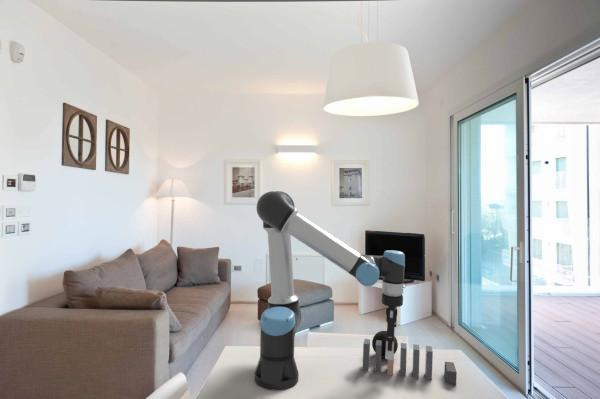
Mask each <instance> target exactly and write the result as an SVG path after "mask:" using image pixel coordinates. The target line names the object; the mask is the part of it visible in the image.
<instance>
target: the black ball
mask: <svg viewBox="0 0 600 399" xmlns="http://www.w3.org/2000/svg"><path fill="white" fill-rule="evenodd" d="M384 338H387V330H380V331H378V332H376V333H375V334H374V336H373V337H372V340H371V346H372V350H373V351H374V353H375V352H376V340H380V341H382V358H385V353H386V341H384ZM398 346H399V344H398V340H397V337H396V336H395V335H394V355H395V354H396V353H397V350H398V349H399V348H398Z"/></svg>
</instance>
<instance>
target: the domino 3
mask: <svg viewBox="0 0 600 399" xmlns="http://www.w3.org/2000/svg"><path fill="white" fill-rule="evenodd" d="M394 357H395V354H393V360H390V359H387V373H386V374H387V375H394V365H395V364H394V361H395V360H394V359H395V358H394Z"/></svg>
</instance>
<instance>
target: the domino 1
mask: <svg viewBox="0 0 600 399" xmlns="http://www.w3.org/2000/svg"><path fill="white" fill-rule="evenodd" d="M370 347H371V339H370V338H364V341H363V348H362V349H363V351H362V372H369V370H370V369H369V368H370V358H371V357H370V356H371V355H370V354H371V353H370V352H371V348H370Z"/></svg>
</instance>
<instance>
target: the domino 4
mask: <svg viewBox="0 0 600 399" xmlns="http://www.w3.org/2000/svg"><path fill="white" fill-rule="evenodd" d="M407 346H408V344H407V343H405V342H400V353H399V354H400V356H399V357H400V359H399V362H400V363H399V367H400V368H399V376H400V377H407V376H406V375H407V354H408V353H407Z"/></svg>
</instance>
